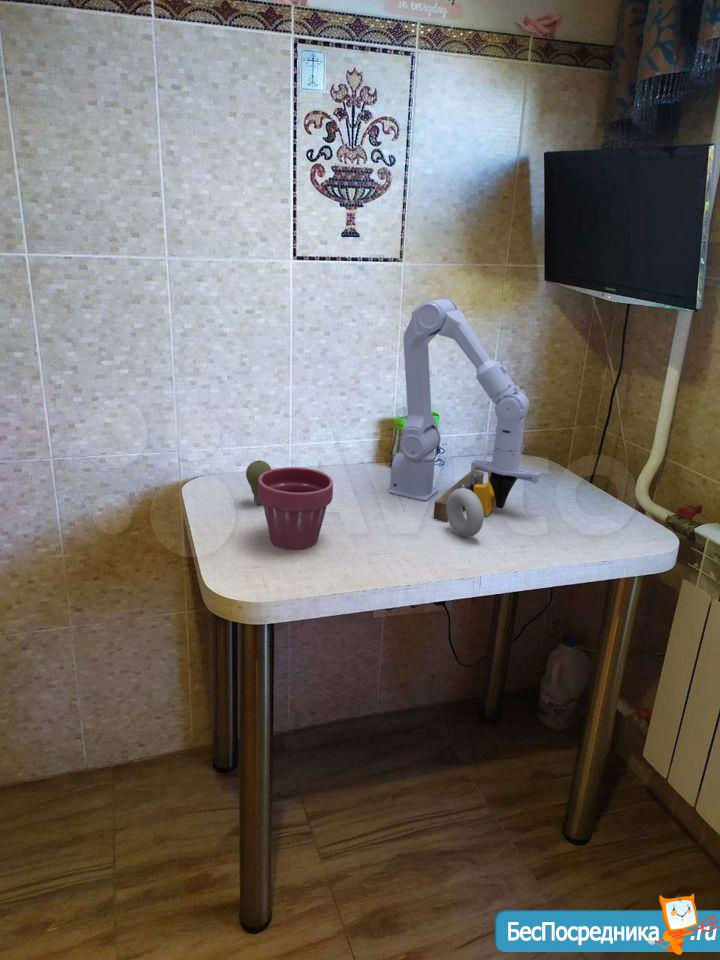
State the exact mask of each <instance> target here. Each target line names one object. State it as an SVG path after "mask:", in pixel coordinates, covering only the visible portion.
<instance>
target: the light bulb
mask: <svg viewBox="0 0 720 960" xmlns="http://www.w3.org/2000/svg"><path fill="white" fill-rule="evenodd" d="M269 470H273V469H272V467H271V465H270V464H269V463H268V462H266V461H264V460H260V459H259V460H255V461H253V462H251V463H250V464H249V465H248V466H247V468H246V473H245V477H246V480H247V482H248V484H249V486H250V488H251V493H252V494H253V503H255V504H256V505H257V506H263V503H262V502H261V501H260V500H259V498H258V479H259V476H260V475H261V474H263V473H264V472H266V471H269Z"/></svg>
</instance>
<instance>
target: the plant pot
mask: <svg viewBox="0 0 720 960" xmlns="http://www.w3.org/2000/svg"><path fill="white" fill-rule="evenodd" d="M333 491H334V481H333V478H331V476H330V475H328V474H327V473H325V472H323V471H320V470H317V469H313V468H307V467H299V466H298V467H297V466H296V467H295V466H289V467H280V468H279V467H277V468H273V469H272V470H269V471H266V472H264V473H263V474H261V475H260V476H259V479H258V498H259V500H260V501H261V502H262V503H263V504H262V507H263V510H264V515H265V520H266V524H267V528H268V531H269V532H268V533H269V538H270V541H271V543H272V545H274V546H275V547H277V548H279V549H282V550H286V551H287V550H288V551H302V550H307V549H309V548H312V547H314V546H315V545H316V544H317V543H318V539H319V537H320V532H321V529H322V525H323V522H324V518H325V514H326V509H327V506H329V504H331V502H332V501H333V497H334V496H333V495H334V492H333Z"/></svg>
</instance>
